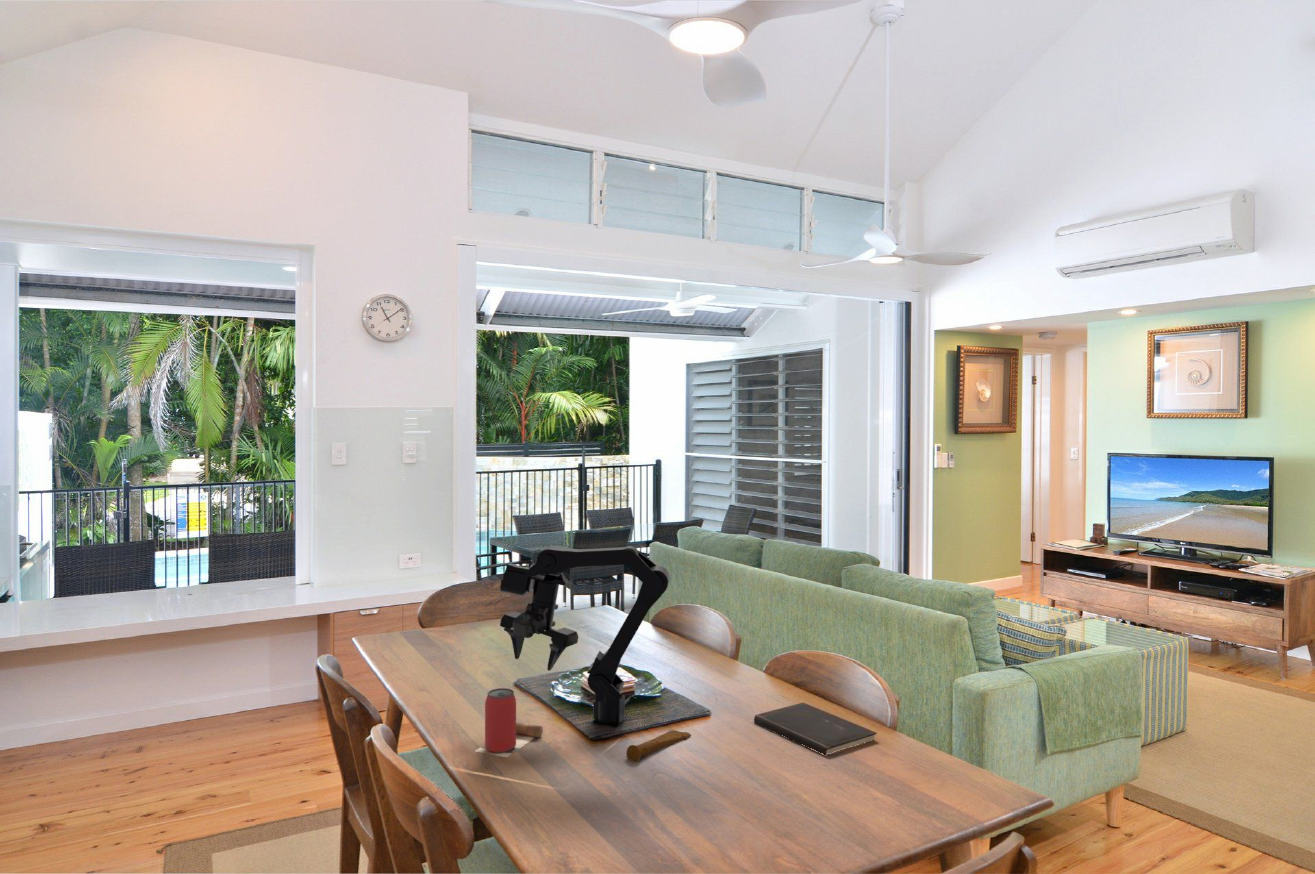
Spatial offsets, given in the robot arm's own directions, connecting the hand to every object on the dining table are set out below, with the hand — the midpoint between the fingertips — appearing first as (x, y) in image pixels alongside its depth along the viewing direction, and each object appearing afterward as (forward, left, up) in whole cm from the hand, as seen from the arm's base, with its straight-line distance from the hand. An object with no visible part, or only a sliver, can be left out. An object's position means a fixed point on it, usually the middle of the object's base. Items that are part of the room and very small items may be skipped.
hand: (532, 664), depth 193 cm
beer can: (-3, +18, -13) cm, 22 cm away
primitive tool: (-33, +3, -14) cm, 36 cm away
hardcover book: (-63, -18, -14) cm, 67 cm away
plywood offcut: (-3, +14, -13) cm, 19 cm away
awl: (-1, +10, -13) cm, 16 cm away
